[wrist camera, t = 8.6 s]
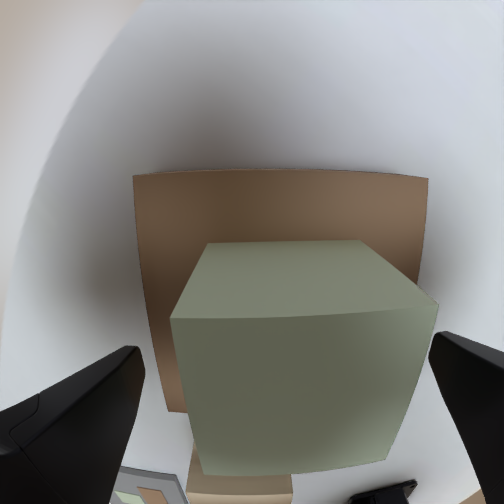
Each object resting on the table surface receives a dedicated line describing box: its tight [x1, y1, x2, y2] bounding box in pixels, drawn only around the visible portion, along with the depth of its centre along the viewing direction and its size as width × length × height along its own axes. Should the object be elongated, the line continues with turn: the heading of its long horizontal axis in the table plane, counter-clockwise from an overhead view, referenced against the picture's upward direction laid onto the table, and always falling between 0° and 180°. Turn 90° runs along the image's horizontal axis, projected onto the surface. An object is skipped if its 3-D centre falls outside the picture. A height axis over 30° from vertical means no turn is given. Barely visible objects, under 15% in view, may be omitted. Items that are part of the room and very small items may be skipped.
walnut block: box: [133, 169, 428, 413], centre depth 12 cm, size 10×10×3 cm
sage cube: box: [170, 240, 439, 476], centre depth 8 cm, size 5×5×5 cm
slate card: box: [110, 466, 188, 504], centre depth 18 cm, size 10×8×1 cm
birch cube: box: [185, 440, 293, 504], centre depth 14 cm, size 5×5×5 cm
